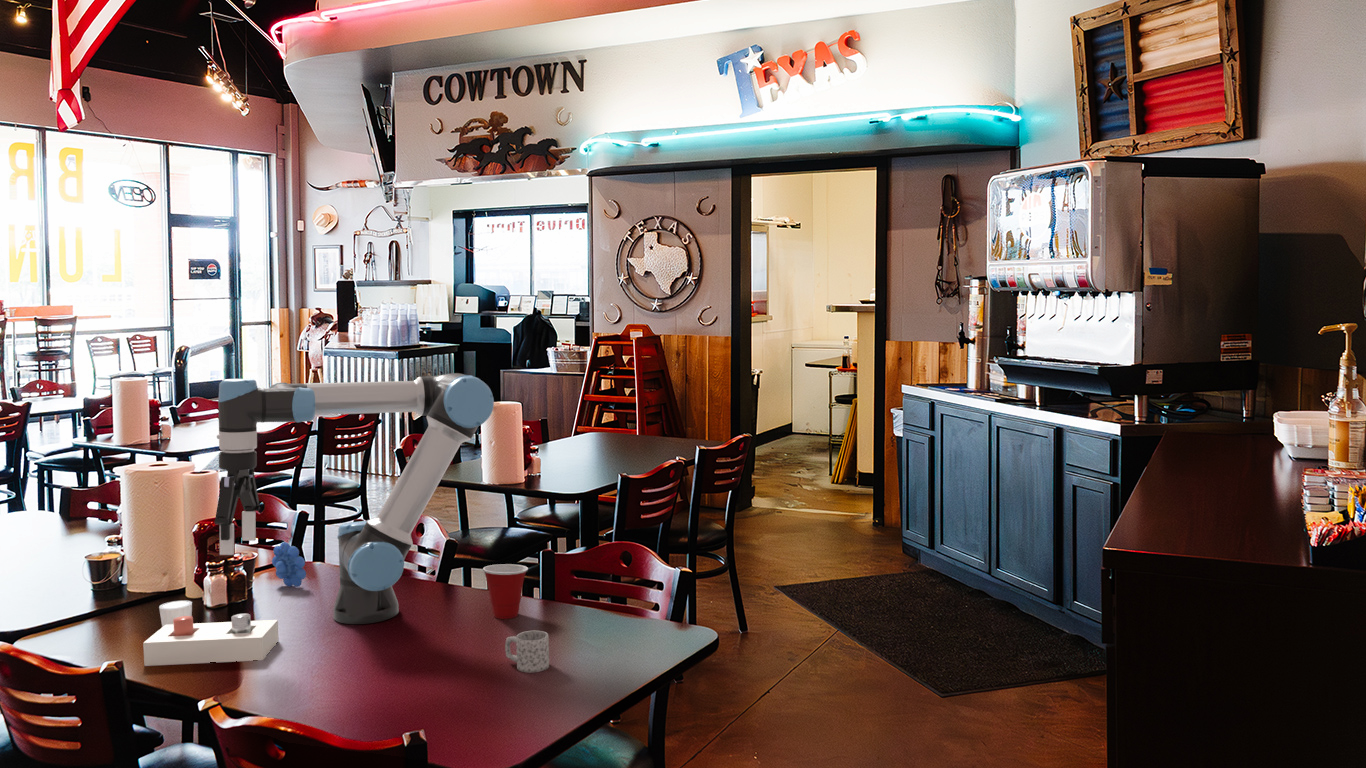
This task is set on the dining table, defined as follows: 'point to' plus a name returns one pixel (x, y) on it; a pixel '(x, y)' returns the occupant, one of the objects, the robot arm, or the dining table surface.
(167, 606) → the white short tapered cylinder
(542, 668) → the mug
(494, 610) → the plastic cup
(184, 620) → the red button
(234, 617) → the steel button
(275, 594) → the dining table surface
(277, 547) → the grapes
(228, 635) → the button box
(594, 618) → the dining table surface
